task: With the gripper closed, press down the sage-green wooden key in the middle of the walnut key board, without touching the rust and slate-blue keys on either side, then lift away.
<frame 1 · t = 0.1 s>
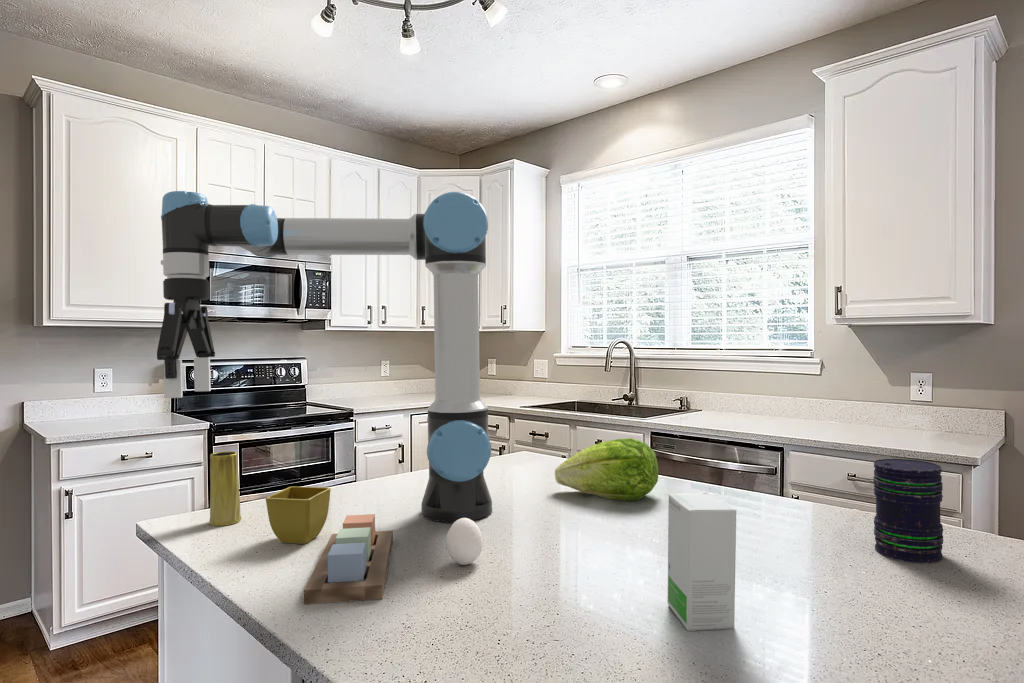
hand: (189, 394, 116), 28 cm above the counter, fingers open, 13 cm apart
egg: (464, 565, 104), on the counter
skincare box: (701, 618, 83), on the counter
key slate: (347, 562, 95), point 4 cm above the counter, slide at 0.0 cm
key board: (354, 568, 103), on the counter
vase: (225, 523, 131), on the counter
key rust: (359, 530, 111), point 4 cm above the counter, slide at 0.0 cm
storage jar: (908, 554, 106), on the counter
lettuce: (605, 496, 148), on the counter
flower pot: (299, 541, 118), on the counter
key sage: (353, 544, 103), point 4 cm above the counter, slide at 0.0 cm
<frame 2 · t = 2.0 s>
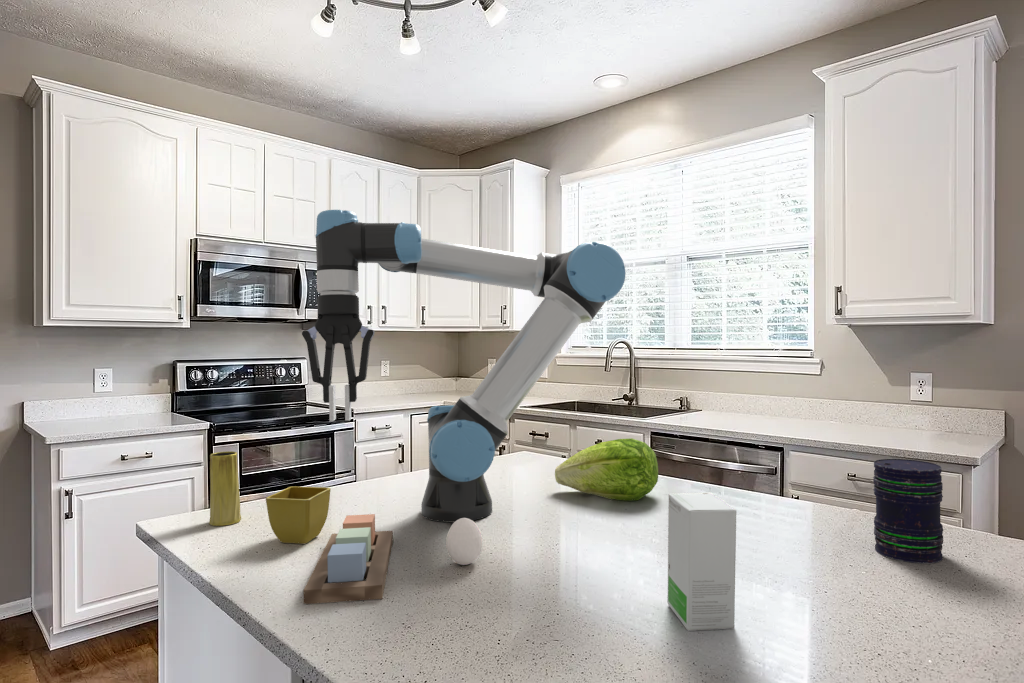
hand: (340, 419, 118), 22 cm above the counter, fingers open, 2 cm apart
nothing on the counter moved.
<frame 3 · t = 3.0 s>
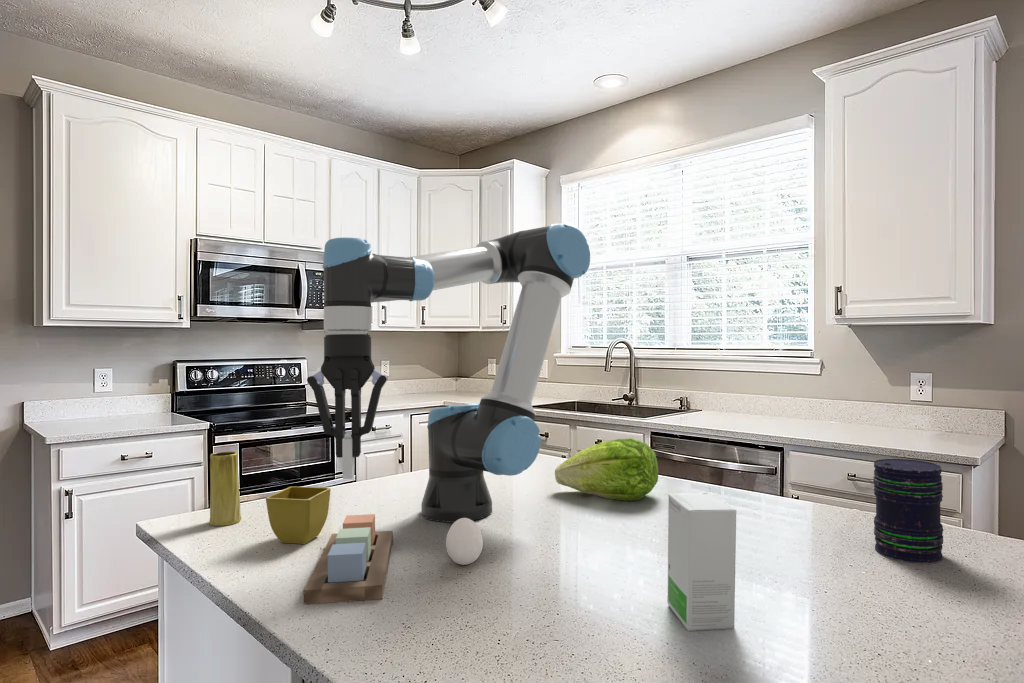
hand: (348, 476, 103), 15 cm above the counter, fingers closed
nothing on the counter moved.
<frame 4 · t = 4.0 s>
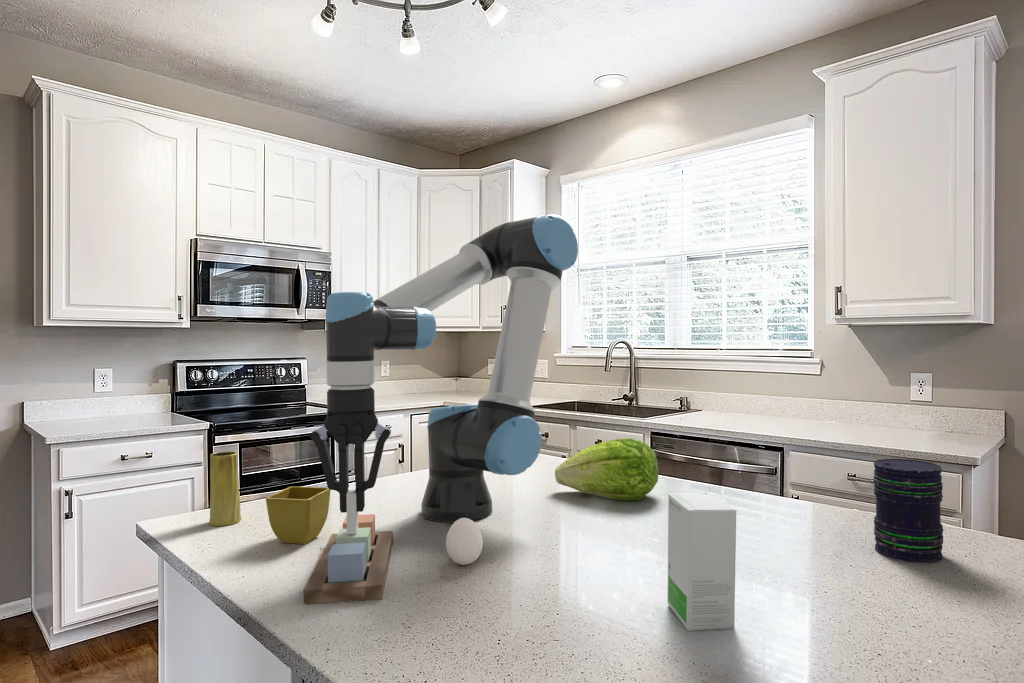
hand: (352, 531, 103), 6 cm above the counter, fingers closed
key sage: (353, 544, 103), point 4 cm above the counter, slide at 0.0 cm, touching gripper
everything else where it was.
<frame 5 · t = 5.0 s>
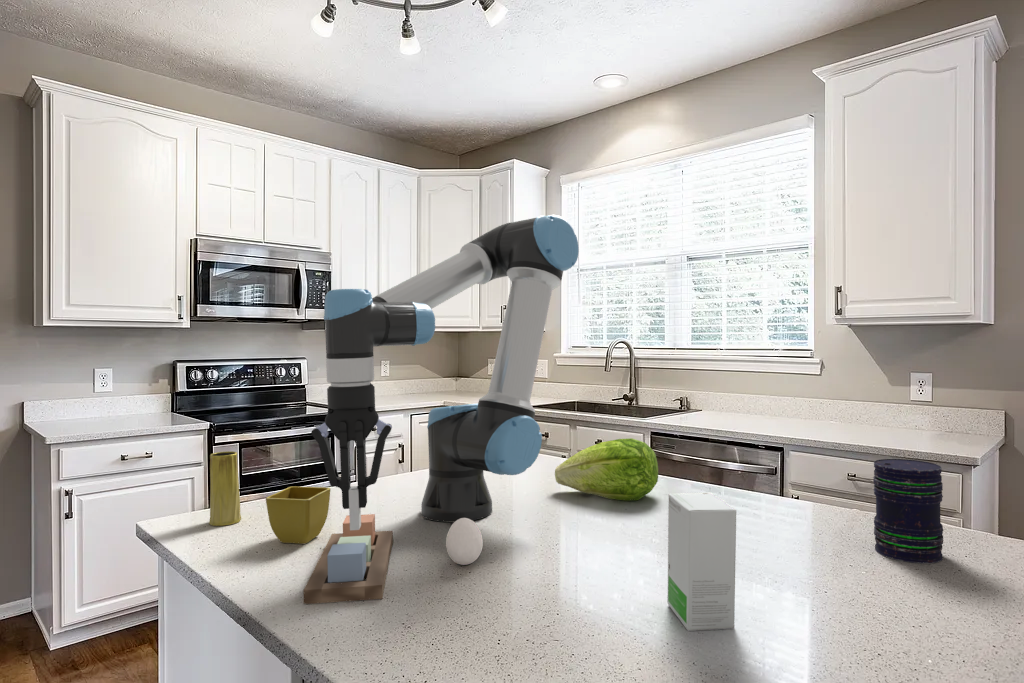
hand: (355, 527, 103), 7 cm above the counter, fingers closed
key sage: (354, 553, 103), point 3 cm above the counter, slide at 1.4 cm
everything else where it was.
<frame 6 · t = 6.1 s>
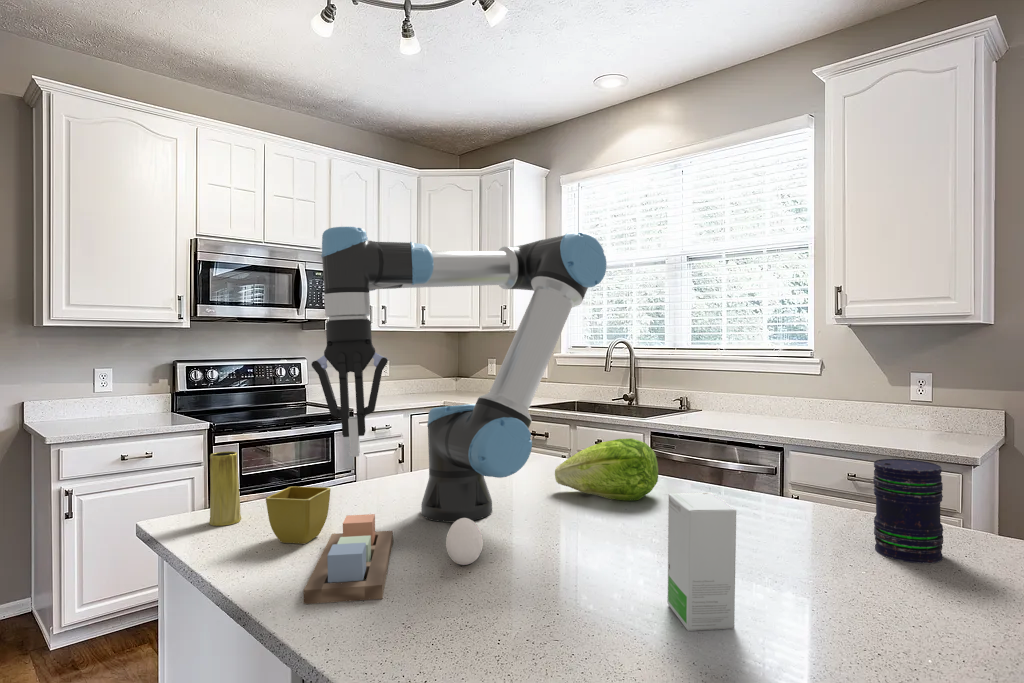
hand: (355, 455, 109), 18 cm above the counter, fingers closed
nothing on the counter moved.
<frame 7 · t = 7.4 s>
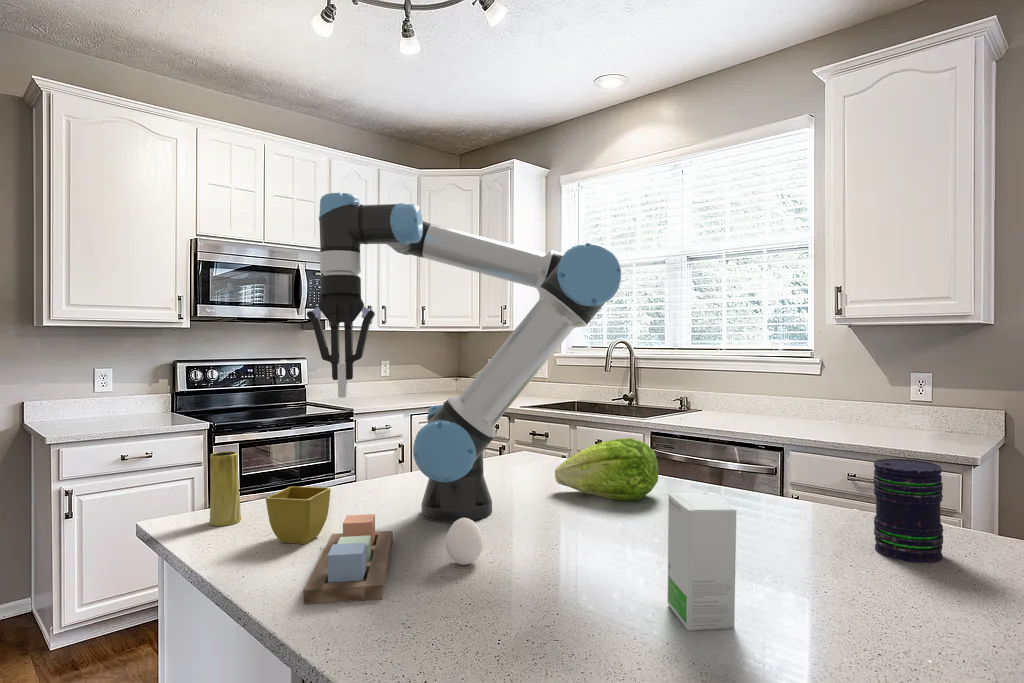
hand: (343, 396, 122), 26 cm above the counter, fingers closed
nothing on the counter moved.
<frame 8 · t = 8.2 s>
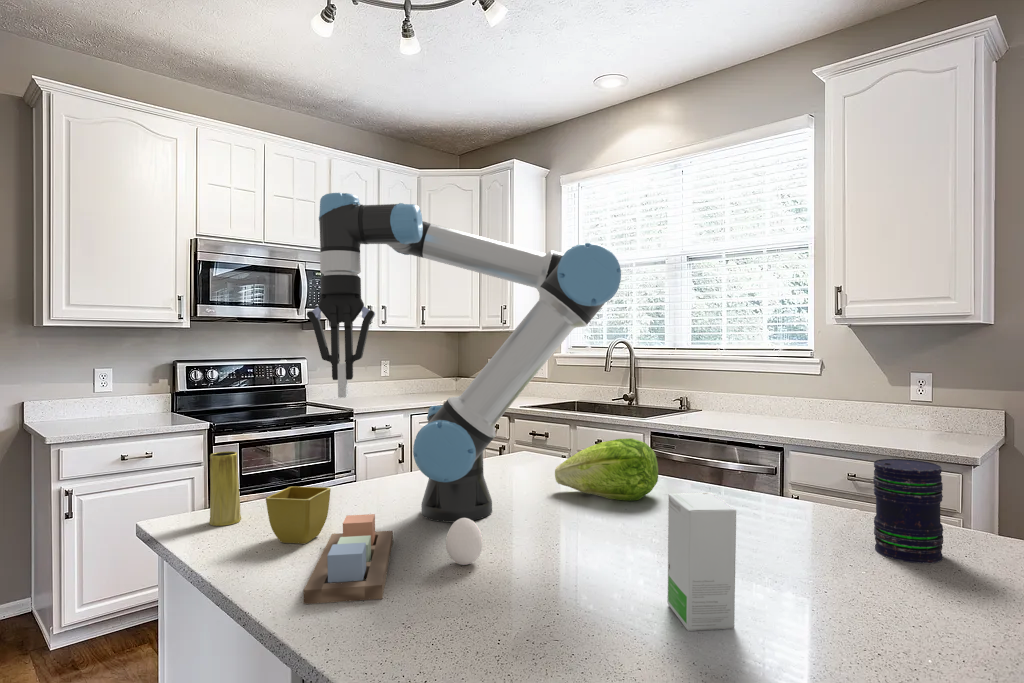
hand: (343, 396, 122), 26 cm above the counter, fingers closed
nothing on the counter moved.
at the end: key sage slide at 1.4 cm; key rust slide at 0.0 cm; key slate slide at 0.0 cm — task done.
